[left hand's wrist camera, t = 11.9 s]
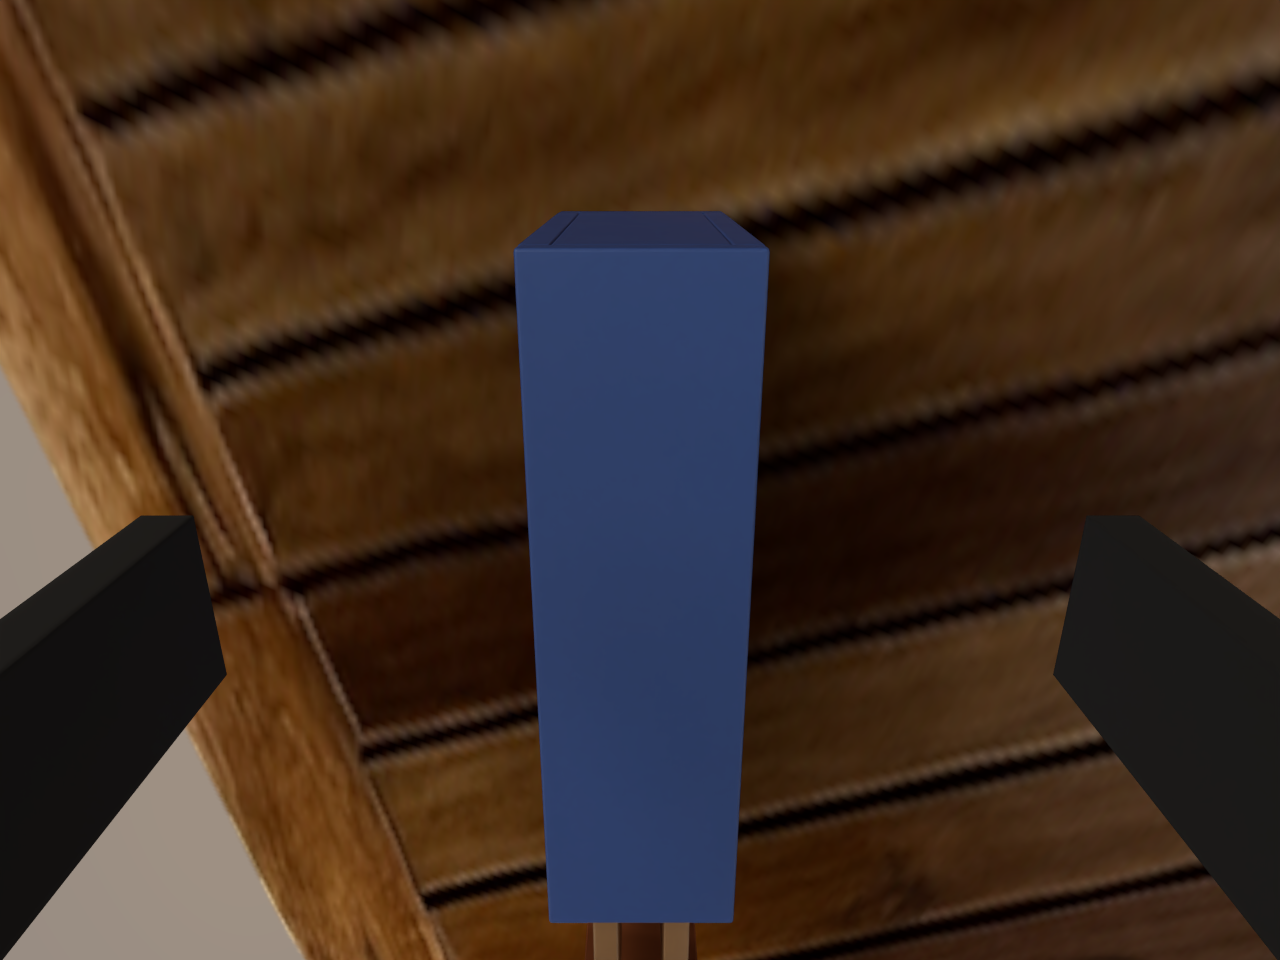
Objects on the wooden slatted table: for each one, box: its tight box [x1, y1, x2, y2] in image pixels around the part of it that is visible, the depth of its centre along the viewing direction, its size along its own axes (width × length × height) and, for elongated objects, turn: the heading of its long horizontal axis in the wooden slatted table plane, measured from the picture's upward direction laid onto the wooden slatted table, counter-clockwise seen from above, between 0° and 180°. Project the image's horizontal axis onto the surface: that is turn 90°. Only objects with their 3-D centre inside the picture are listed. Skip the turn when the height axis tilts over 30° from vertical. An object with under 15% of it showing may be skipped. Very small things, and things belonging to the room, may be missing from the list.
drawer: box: [585, 923, 697, 960], centre depth 31 cm, size 24×4×9 cm, turn 0°
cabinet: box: [514, 211, 770, 923], centre depth 26 cm, size 19×5×11 cm, turn 0°
